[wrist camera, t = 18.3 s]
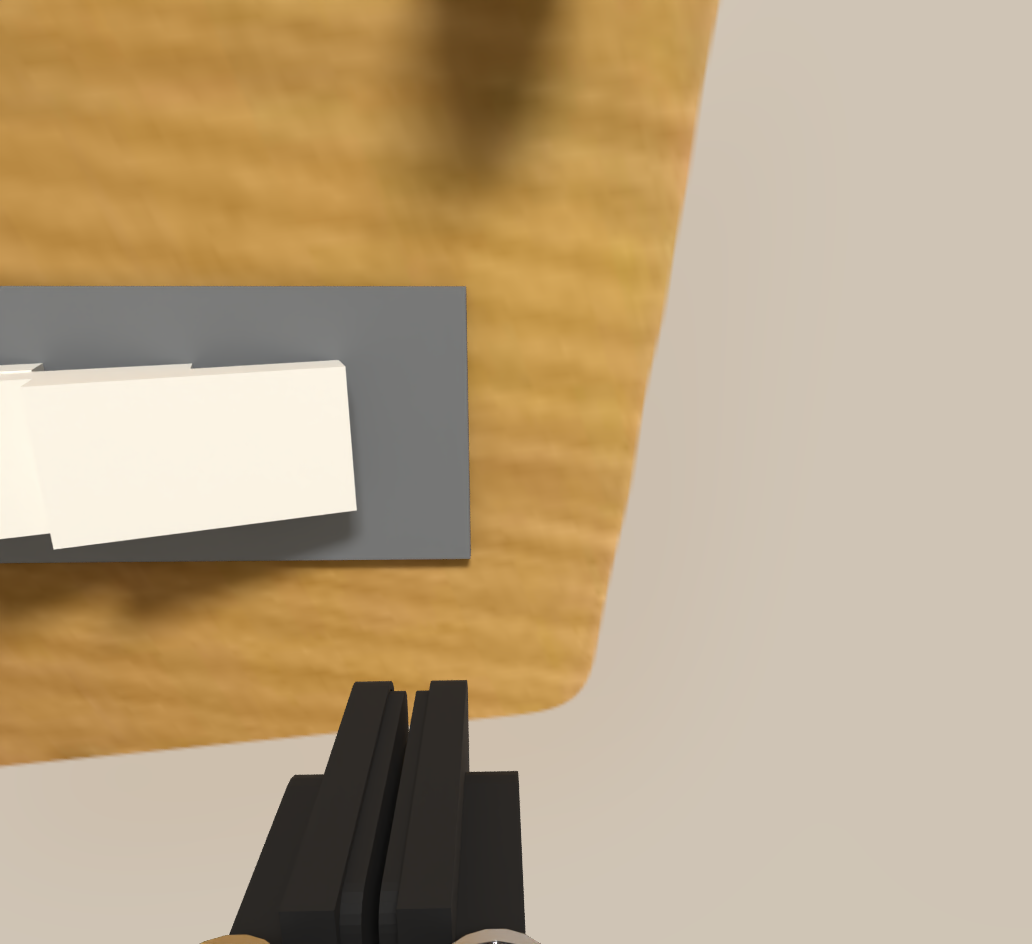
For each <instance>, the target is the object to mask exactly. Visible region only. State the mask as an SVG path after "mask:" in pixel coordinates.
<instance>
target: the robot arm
mask: <svg viewBox="0 0 1032 944" xmlns="http://www.w3.org/2000/svg"><path fill="white" fill-rule="evenodd" d="M468 733H469V732H468V686H467V680H447V681H431V683H430V689H429V691H417V692H416V696H415V701H414V707H413V713H412V718H411V724H410V729H409V727H408V706H407V694H406V691H394V686H393V683H392V681H373V682H355V683H354V685H353V688H352V691H351V694H350V697H349V700H348V703H347V706H346V709H345V712H344V715H343V718H342V721H341V724H340V727H339V730H338V733H337V736H336V739H335V742H334V745H333V749H332V751H331V754H330V758H329V761H328V764H327V767H326V770H325V773H324V775H323V774H322V775H294V776H293V777H292V778H291V780H290V782H289V784H288V786H287V788H286V791H285V793H284V796H283V798H282V801H281V804H280V806H279V808H278V811H277V813H276V816H275V819H274V821H273V824H272V826H271V829H270V831H269V834H268V837H267V839H266V842H265V844H264V847H263V849H262V852H261V855H260V857H259V860H258V862H257V865H256V867H255V870H254V872H253V875H252V878H251V880H250V883H249V886H248V888H247V890H246V893H245V896H244V898H243V901H242V903H241V906H240V909H239V911H238V914H237V916H236V919H235V921H234V924H233V926H232V929H231V932H230V934H229V935H225V936H222V937H218V938H214V939H211V940H207V941H204V942H202V943H200V944H540V943H539V942H537V941H535V940H534V939H532V938H531V937H529V936H527V935H526V934H525V913H524V891H523V870H522V847H521V846H522V845H521V823H520V801H519V780H518V771H507V772H506V771H501V772H500V771H499V772H469V734H468Z"/></svg>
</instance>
